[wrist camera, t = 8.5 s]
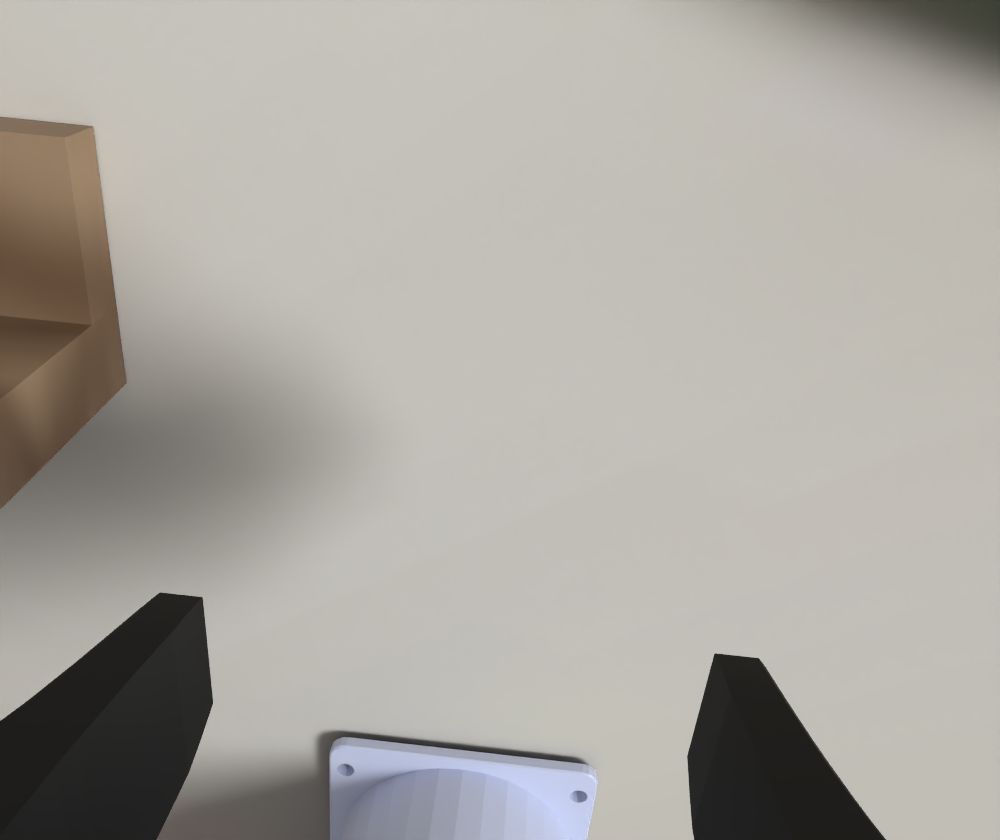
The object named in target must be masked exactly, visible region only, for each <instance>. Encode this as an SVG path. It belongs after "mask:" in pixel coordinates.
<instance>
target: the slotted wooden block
mask: <svg viewBox="0 0 1000 840" xmlns="http://www.w3.org/2000/svg"><path fill="white" fill-rule="evenodd" d="M125 384H126V377H125V369H124V361H123V354H122V346H121V338H120V330H119V323H118V315H117V307H116V300H115V292H114V284H113V276H112V269H111V261H110V253H109V245H108V238H107V230H106V222H105V215H104V207H103V199H102V191H101V184H100V176H99V168H98V160H97V153H96V145H95V137H94V130H93V127H92V126H83V125H73V124H63V123H53V122H43V121H34V120H24V119H14V118H4V117H0V509H1V508H2V507H3V506H4V505H5V504H6V503H7V502H8V501H9V500H10V499H11V498H12V497H13V496H14V495H15V494H16V493H17V492H18V491H19V490H20V489H21V488H22V487H23V486H24V485H25V484H26V483H27V482H28V481H29V480H30V479H31V478H32V477H33V476H34V475H35V474H36V473H37V472H38V471H39V470H40V469H41V468H42V467H43V466H44V465H45V464H46V463H47V462H48V461H49V460H50V459H51V458H52V457H53V456H54V455H55V454H56V453H57V452H58V451H59V450H60V449H61V448H62V447H63V446H64V445H65V444H66V443H67V442H68V441H69V440H70V439H71V438H72V437H73V436H74V435H75V434H76V433H77V432H78V431H79V430H80V429H81V428H82V427H83V426H84V425H85V424H86V423H87V422H88V421H89V420H90V419H91V418H92V417H93V416H94V415H95V414H96V413H97V412H98V411H99V410H100V409H101V408H102V407H103V406H104V405H105V404H106V403H107V402H108V401H109V400H110V399H111V398H112V397H113V396H114V395H115V394H116V393H117V392H118V391H119V390H120V389H121V388H122V387H123V386H124V385H125Z"/></svg>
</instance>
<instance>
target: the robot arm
mask: <svg viewBox="0 0 1000 840" xmlns="http://www.w3.org/2000/svg"><path fill="white" fill-rule="evenodd" d="M212 705H213V698H212V688H211V678H210V668H209V657H208V647H207V637H206V627H205V617H204V607H203V597H195V596H186V595H177V594H168V593H159V594H158V595H156V596H155V597H154V598H152V599H151V600H150V601H149V602H148V603H146V604H145V605H144V606H143V607H141V608H140V609H139V610H138V611H137V612H135V613H134V614H133V615H132V616H131V617H129V618H128V619H127V620H126V621H125V622H123V623H122V624H121V625H120V626H119V627H118V628H116V629H115V630H114V631H113V632H112V633H110V634H109V635H108V636H107V637H106V638H104V639H103V640H102V641H101V642H100V643H99V644H97V645H96V646H95V647H94V648H93V649H91V650H90V651H89V652H88V653H87V654H85V655H84V656H83V657H82V658H80V659H79V660H78V661H77V662H76V663H74V664H73V665H72V666H71V667H69V668H68V669H67V670H66V671H64V672H63V673H62V674H61V675H59V676H58V677H57V678H56V679H54V680H53V681H52V682H51V683H49V684H48V685H47V686H46V687H44V688H43V689H42V690H41V691H39V692H38V693H37V694H36V695H34V696H33V697H32V698H31V699H29V700H28V701H27V702H25V703H24V704H23V705H21V706H20V707H19V708H17V709H16V710H15V711H13V712H12V713H11V714H9V715H8V716H7V717H5V718H4V719H2V720H1V721H0V840H156V839H157V837H158V835H159V833H160V831H161V829H162V827H163V825H164V823H165V821H166V819H167V817H168V815H169V813H170V810H171V808H172V806H173V804H174V802H175V800H176V798H177V796H178V794H179V792H180V790H181V788H182V786H183V784H184V781H185V779H186V777H187V775H188V773H189V771H190V768H191V765H192V762H193V760H194V757H195V754H196V751H197V749H198V746H199V743H200V740H201V737H202V734H203V731H204V728H205V725H206V722H207V719H208V716H209V714H210V711H211V708H212ZM687 757H688V773H689V790H690V804H691V816H692V829H693V835H694V840H886V839H885V838H884V837H883V835H882V834H881V833H880V832H879V830H878V829H877V828H876V827H875V825H874V824H873V823H872V821H871V820H870V819H869V818H868V816H867V815H866V814H865V812H864V811H863V810H862V808H861V807H860V806H859V804H858V803H857V802H856V800H855V799H854V798H853V796H852V795H851V793H850V792H849V791H848V789H847V788H846V786H845V785H844V784H843V782H842V781H841V779H840V778H839V777H838V775H837V774H836V773H835V771H834V770H833V768H832V767H831V766H830V764H829V763H828V761H827V760H826V759H825V757H824V756H823V754H822V753H821V751H820V750H819V748H818V747H817V746H816V744H815V743H814V741H813V740H812V738H811V737H810V735H809V734H808V732H807V731H806V729H805V728H804V726H803V725H802V723H801V722H800V720H799V719H798V717H797V716H796V714H795V712H794V711H793V709H792V708H791V706H790V705H789V703H788V702H787V700H786V699H785V697H784V695H783V694H782V692H781V691H780V689H779V688H778V686H777V684H776V683H775V681H774V680H773V678H772V677H771V675H770V673H769V672H768V670H767V669H766V667H765V666H764V664H763V663H762V662H761V661H760V659H759V658H751V657H742V656H733V655H724V654H714V658H713V662H712V666H711V669H710V673H709V677H708V681H707V684H706V688H705V692H704V696H703V700H702V703H701V707H700V711H699V715H698V718H697V722H696V726H695V730H694V733H693V737H692V741H691V745H690V748H689V752H688V756H687ZM345 764H348V765H345ZM597 786H598V784H597V772H596V771H595V770H594V768H592V767H590V766H589V765H585V764H580V763H571V762H563V761H554V760H545V759H536V758H527V757H519V756H510V755H501V754H492V753H483V752H475V751H466V750H457V749H448V748H439V747H431V746H422V745H413V744H404V743H395V742H387V741H378V740H369V739H360V738H351V737H342V738H339V739H336V740H335V741H334V742H333V744H332V747H331V751H330V754H329V788H330V840H587V835H588V830H589V826H590V821H591V816H592V811H593V806H594V801H595V796H596V791H597ZM577 791H578V792H577Z"/></svg>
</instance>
